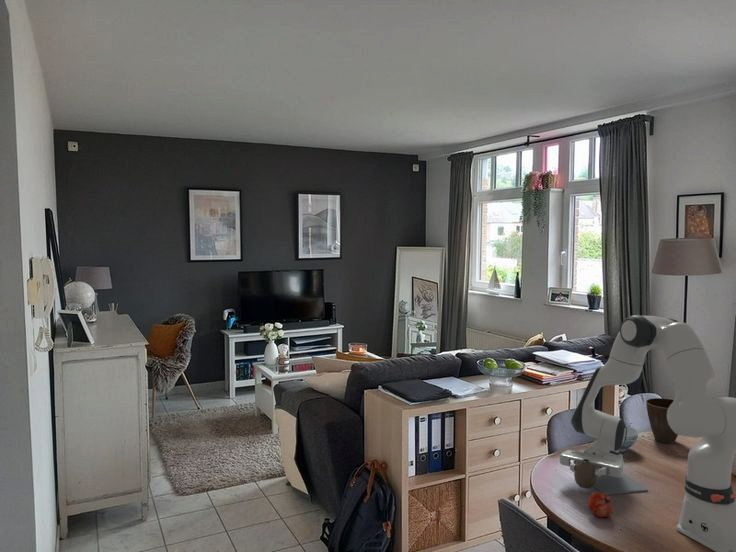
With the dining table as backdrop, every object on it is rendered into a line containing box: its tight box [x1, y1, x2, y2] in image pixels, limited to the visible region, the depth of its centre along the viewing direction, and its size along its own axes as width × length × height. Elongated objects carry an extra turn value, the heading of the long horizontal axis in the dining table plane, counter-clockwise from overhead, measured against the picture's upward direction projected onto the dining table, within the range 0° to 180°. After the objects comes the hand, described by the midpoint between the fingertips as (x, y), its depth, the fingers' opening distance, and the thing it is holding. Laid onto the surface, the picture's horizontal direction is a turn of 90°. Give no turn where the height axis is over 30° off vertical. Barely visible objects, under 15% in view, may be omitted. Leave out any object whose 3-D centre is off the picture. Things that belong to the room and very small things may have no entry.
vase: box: [573, 459, 597, 489], centre depth 193 cm, size 7×7×9 cm
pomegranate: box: [587, 491, 615, 518], centre depth 180 cm, size 7×7×10 cm
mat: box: [593, 472, 649, 496], centre depth 206 cm, size 22×16×1 cm
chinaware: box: [618, 425, 639, 453], centre depth 235 cm, size 15×15×8 cm
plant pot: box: [645, 397, 679, 445], centre depth 244 cm, size 15×15×16 cm
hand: (584, 470), depth 192 cm, fingers closed on vase, 7 cm apart
